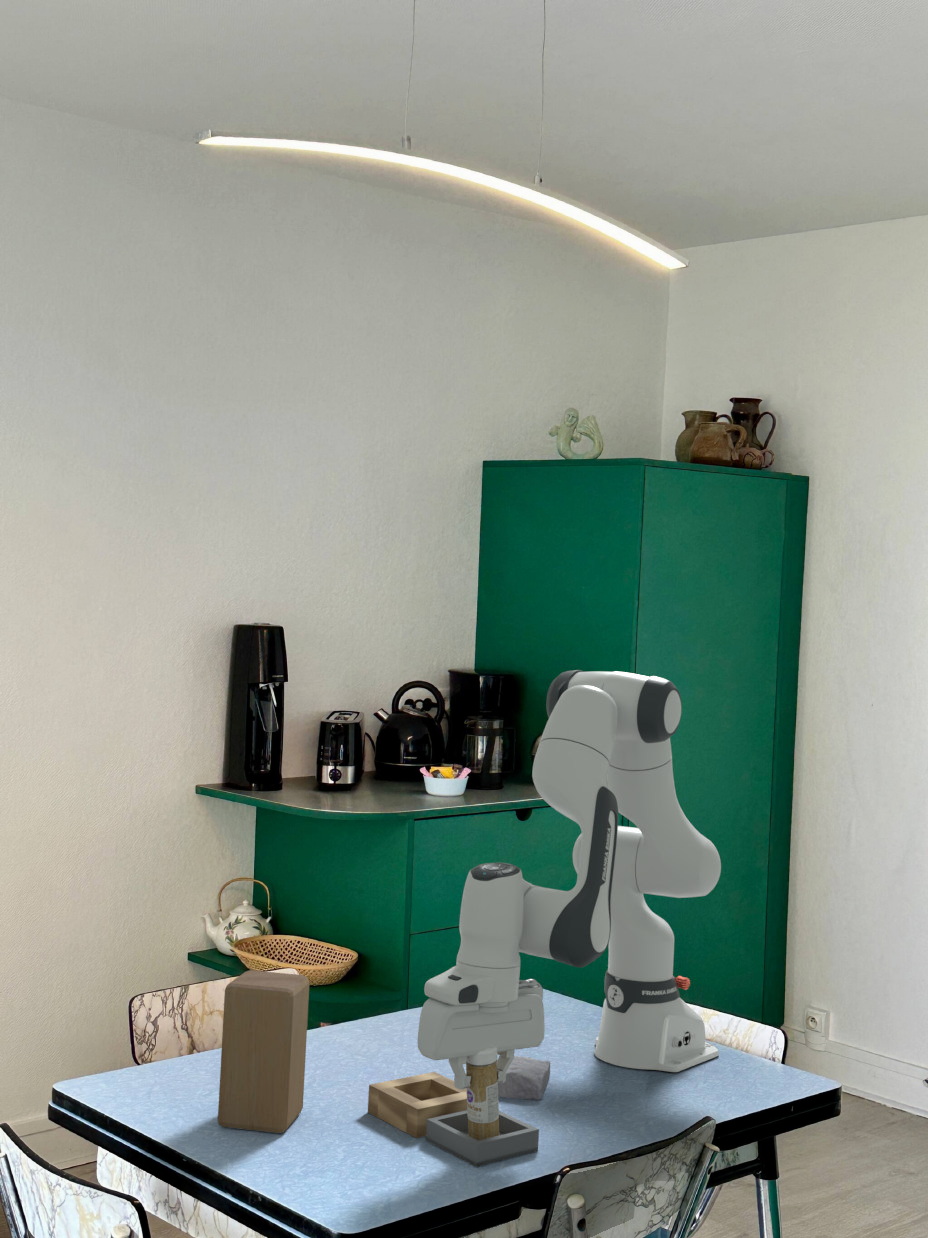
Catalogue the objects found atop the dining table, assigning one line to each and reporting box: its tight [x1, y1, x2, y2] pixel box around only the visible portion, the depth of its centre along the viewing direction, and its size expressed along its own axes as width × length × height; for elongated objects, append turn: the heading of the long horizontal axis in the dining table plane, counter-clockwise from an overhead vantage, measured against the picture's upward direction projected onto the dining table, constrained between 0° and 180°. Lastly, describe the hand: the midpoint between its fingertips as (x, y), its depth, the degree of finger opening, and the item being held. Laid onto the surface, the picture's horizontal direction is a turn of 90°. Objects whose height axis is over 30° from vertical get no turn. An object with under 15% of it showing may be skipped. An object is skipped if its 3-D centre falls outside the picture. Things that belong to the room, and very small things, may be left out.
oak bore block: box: [367, 1071, 467, 1139], centre depth 196 cm, size 12×12×4 cm
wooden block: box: [217, 969, 310, 1134], centre depth 192 cm, size 10×10×20 cm
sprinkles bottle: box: [465, 1047, 500, 1141], centre depth 185 cm, size 5×5×14 cm
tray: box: [425, 1110, 540, 1168], centre depth 186 cm, size 11×11×3 cm
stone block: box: [497, 1055, 551, 1101], centre depth 212 cm, size 12×5×10 cm
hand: (479, 1085), depth 185 cm, fingers closed on sprinkles bottle, 5 cm apart
